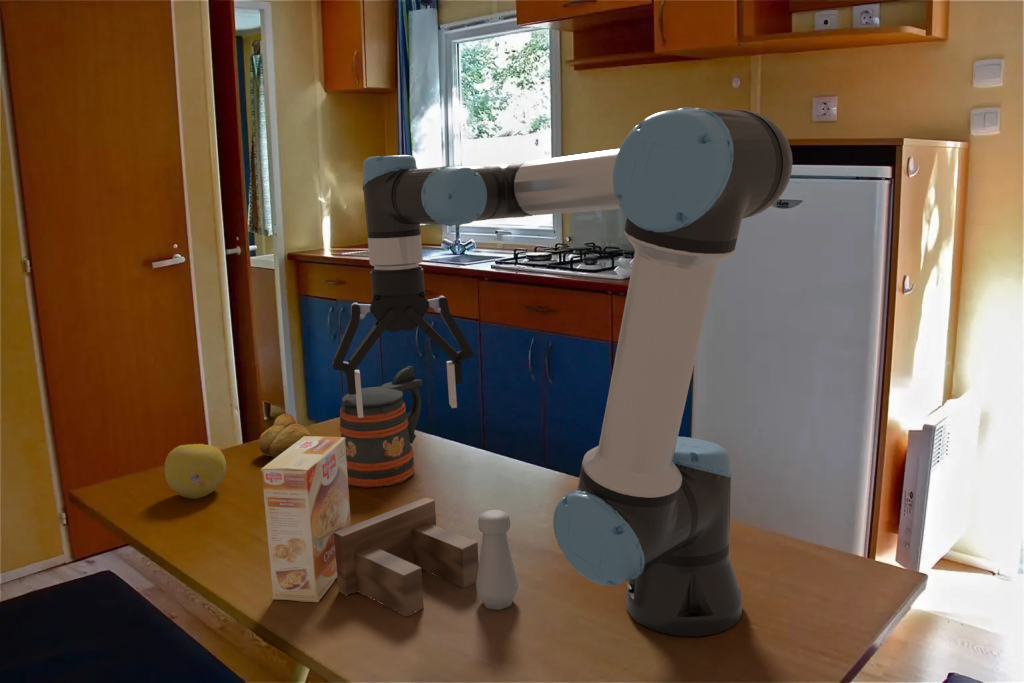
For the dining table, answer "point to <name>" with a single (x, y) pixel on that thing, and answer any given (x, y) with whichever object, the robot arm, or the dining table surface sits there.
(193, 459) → the fruit
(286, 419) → the bread roll
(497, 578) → the salt shaker
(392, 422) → the beer stein
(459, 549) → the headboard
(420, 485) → the dining table surface
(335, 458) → the coffeecake box
